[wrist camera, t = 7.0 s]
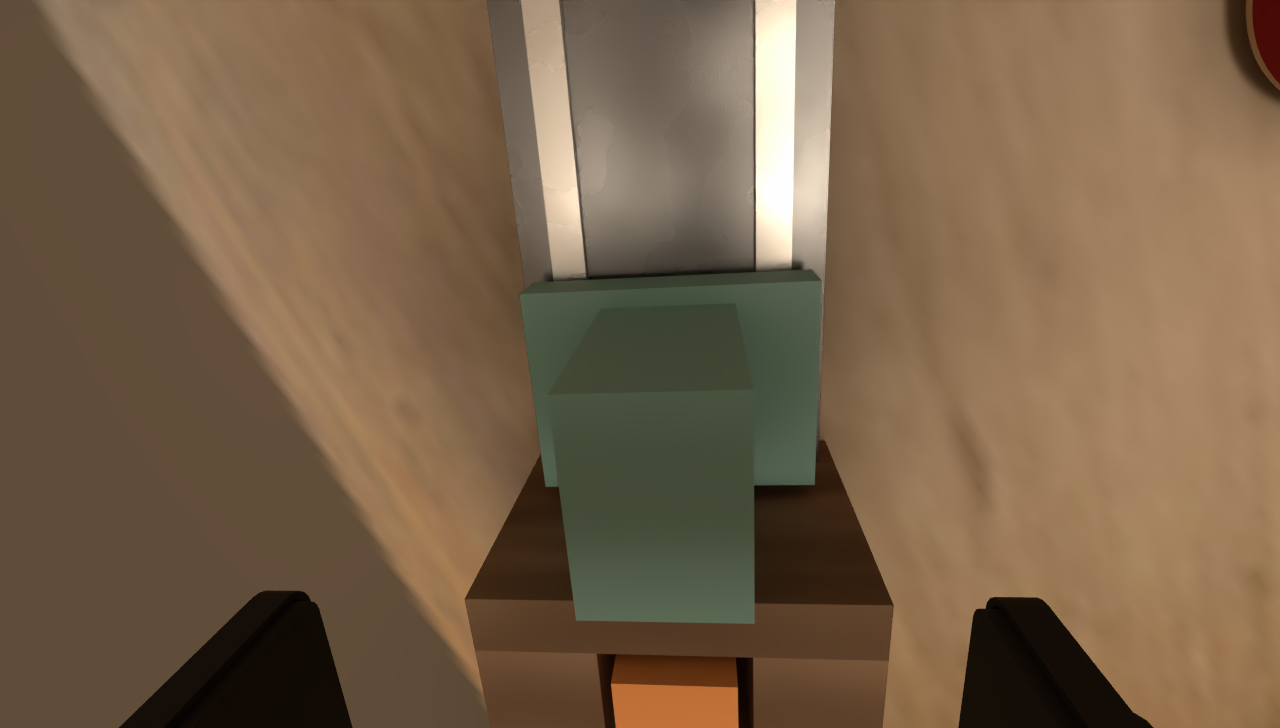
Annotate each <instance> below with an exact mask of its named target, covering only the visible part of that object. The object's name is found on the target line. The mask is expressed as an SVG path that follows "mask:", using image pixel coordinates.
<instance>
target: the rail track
mask: <svg viewBox="0 0 1280 728" xmlns="http://www.w3.org/2000/svg"><path fill="white" fill-rule="evenodd" d="M487 6H488V13H489V21H490V28H491V36H492V43H493V51H494V58H495V66H496V73H497V81H498V88H499V96H500V103H501V111H502V118H503V126H504V133H505V141H506V148H507V156H508V163H509V171H510V178H511V186H512V193H513V201H514V208H515V216H516V223H517V231H518V238H519V246H520V253H521V261H522V268H523V276H524V283H525V289H526V288H528V287H529V286H530V285H531V284H533V283H534V282H556V281H577V280H598V279H620V278H641V277H662V276H683V275H705V274H726V273H747V272H769V271H790V270H811V269H812V270H813V271H814V272H815V274H816V275H817V276H818V277H819V278H820V279H821V280H822V290H821V319H820V348H819V376H818V405H817V434H816V462H815V463H818V452H819V425H820V398H821V370H822V343H823V315H824V288H825V260H826V233H827V206H828V178H829V151H830V123H831V96H832V68H833V41H834V14H835V0H487Z"/></svg>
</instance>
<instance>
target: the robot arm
mask: <svg viewBox="0 0 1280 728" xmlns="http://www.w3.org/2000/svg"><path fill="white" fill-rule="evenodd" d="M119 728H352V724H351V721H350V718H349V714H348V710H347V707H346V703H345V699H344V696H343V692H342V689H341V685H340V682H339V678H338V675H337V671H336V667H335V664H334V660H333V657H332V654H331V649H330V646H329V642H328V639H327V635H326V632H325V628H324V625H323V621H322V618H321V614H320V610H319V608H318V606H317V604H316V603H315V602H311V600H310V598H309V596H308V595H307V594H306V593H305V592H301V591H263V592H260V593H258V594H257V595H256V596H254V597H253V598H252V599H251V600H250V601H249V602H248V603H247V604H246V605H245V606H244V607H243V608H242V609H241V610H239V611H238V612H237V613H236V614H235V615H234V616H233V617H232V618H231V619H230V620H229V621H228V622H227V623H226V624H225V625H224V626H223V627H222V628H221V629H220V630H219V631H218V632H217V633H216V634H215V635H214V636H213V637H212V638H211V639H210V640H209V641H208V642H207V643H206V644H205V645H204V646H202V647H201V648H200V650H199V651H197V652H196V653H195V654H194V655H193V656H192V657H191V658H190V659H189V660H188V661H187V662H186V663H185V664H184V665H183V666H182V667H181V668H180V669H179V670H178V671H177V672H176V673H175V674H174V675H173V676H172V677H171V678H170V679H169V680H168V681H167V682H165V683H164V685H162V686H161V687H160V688H159V689H158V690H157V691H156V692H155V693H154V694H153V695H152V696H151V697H150V698H149V699H148V700H147V701H146V702H145V703H144V704H143V705H142V706H141V707H140V708H139V709H138V710H137V711H136V712H135V713H134V714H133V715H132V716H131V717H130V718H128V719H127V720H126V722H124V723H123V724H122V725H121V726H120V727H119ZM959 728H1153V727H1152V726H1151V725H1150V724H1149V723H1148V722H1147V720H1145V719H1143V718H1142V717H1140V716H1138V715H1137V714H1135V713H1133V712H1132V711H1131V709H1130V708H1129V707H1128V706H1127V704H1126V703H1125V702H1124V700H1123V699H1122V698H1121V697H1120V695H1119V694H1118V693H1117V692H1116V690H1115V689H1114V688H1113V687H1112V685H1111V684H1110V683H1109V682H1108V680H1107V679H1106V678H1105V676H1104V675H1103V674H1102V673H1101V671H1100V670H1099V669H1098V668H1097V666H1096V665H1095V664H1094V663H1093V661H1092V660H1091V659H1090V658H1089V656H1088V655H1087V654H1086V652H1085V651H1084V650H1083V649H1082V647H1081V646H1080V645H1079V644H1078V642H1077V641H1076V640H1075V639H1074V637H1073V636H1072V635H1071V634H1070V632H1069V631H1068V630H1067V629H1066V627H1065V626H1064V625H1063V623H1062V622H1061V621H1060V620H1059V618H1058V617H1057V616H1056V615H1055V613H1054V612H1053V611H1052V610H1051V608H1050V607H1049V606H1048V605H1047V604H1046V603H1045V602H1044V601H1043V600H1041V599H1039V598H1024V597H993V598H990V599H989V601H988V602H987V605H986V609H976V611H975V612H974V616H973V622H972V629H971V637H970V644H969V652H968V660H967V667H966V675H965V682H964V690H963V698H962V705H961V713H960V720H959Z"/></svg>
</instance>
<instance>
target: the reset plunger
mask: <svg viewBox="0 0 1280 728" xmlns="http://www.w3.org/2000/svg"><path fill="white" fill-rule="evenodd" d="M611 688H612V697H613V707H614V716H615V725H616V728H738V683H737V668H736V657H711V656H671V655H631V654H616V657H615V663H614V669H613V675H612V681H611Z"/></svg>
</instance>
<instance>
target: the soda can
mask: <svg viewBox="0 0 1280 728" xmlns="http://www.w3.org/2000/svg"><path fill="white" fill-rule="evenodd" d="M1246 25H1247V33H1248V37H1249V42H1250V46H1251V49H1252V51H1253V54H1254V57H1255V59H1256V61H1257V63H1258V65H1259V67H1260V68H1261V70H1262V71H1263V73H1264V74H1265V76H1266V77H1267V78H1268V79H1269V81H1270V82H1271V83H1272V84H1273V85H1274V86H1275V87H1276V88H1277V89H1279V90H1280V0H1246Z"/></svg>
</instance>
